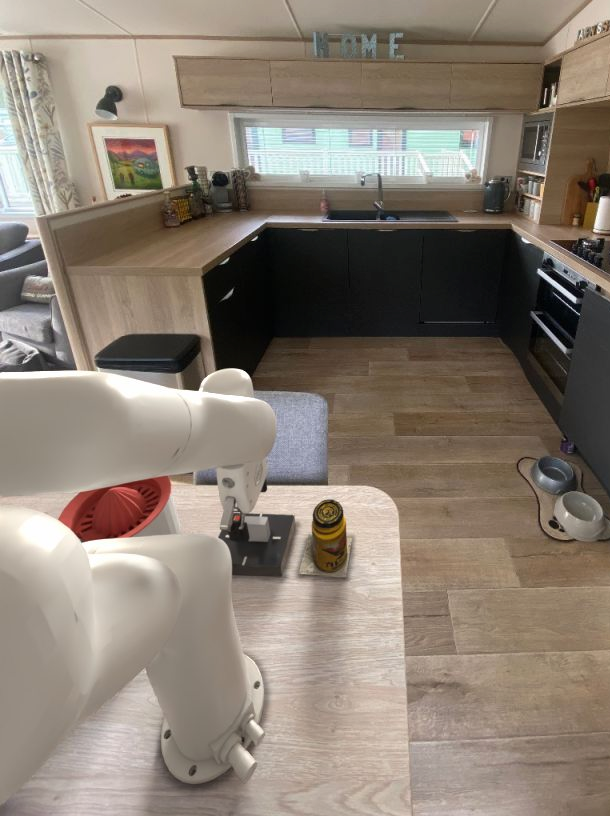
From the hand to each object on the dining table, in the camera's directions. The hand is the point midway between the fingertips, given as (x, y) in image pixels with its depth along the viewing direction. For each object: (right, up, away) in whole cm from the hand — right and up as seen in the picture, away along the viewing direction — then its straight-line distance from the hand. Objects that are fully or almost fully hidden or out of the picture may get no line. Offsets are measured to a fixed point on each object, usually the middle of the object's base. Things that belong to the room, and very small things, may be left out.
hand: (250, 513), depth 70 cm
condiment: (+14, -9, +2) cm, 16 cm away
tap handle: (0, -5, +2) cm, 6 cm away
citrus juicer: (-19, -10, -2) cm, 22 cm away
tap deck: (0, -8, +3) cm, 9 cm away
